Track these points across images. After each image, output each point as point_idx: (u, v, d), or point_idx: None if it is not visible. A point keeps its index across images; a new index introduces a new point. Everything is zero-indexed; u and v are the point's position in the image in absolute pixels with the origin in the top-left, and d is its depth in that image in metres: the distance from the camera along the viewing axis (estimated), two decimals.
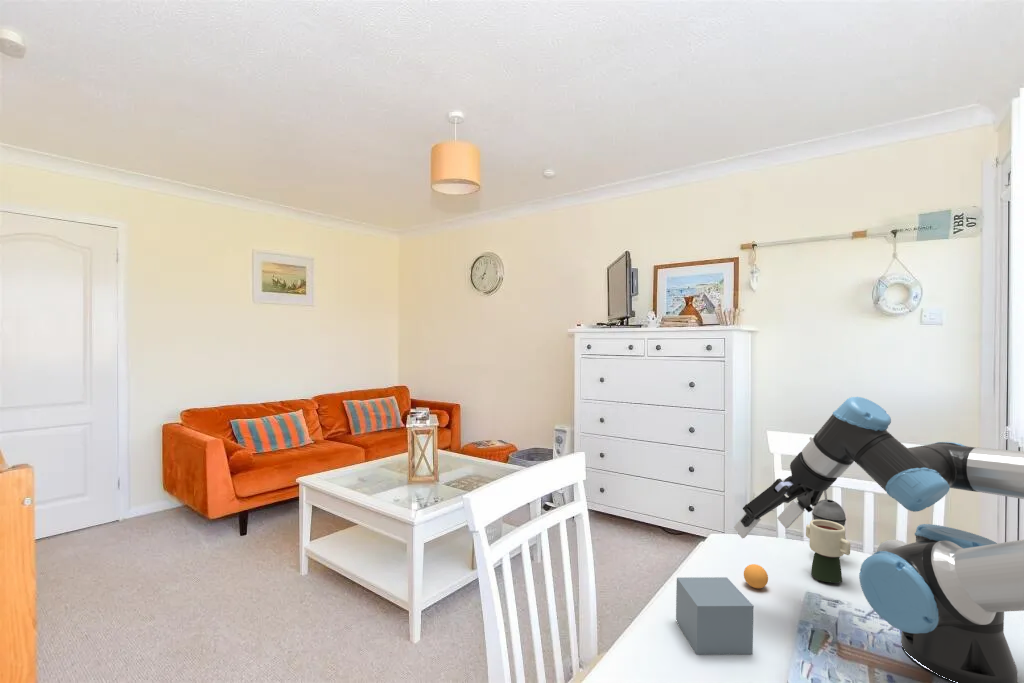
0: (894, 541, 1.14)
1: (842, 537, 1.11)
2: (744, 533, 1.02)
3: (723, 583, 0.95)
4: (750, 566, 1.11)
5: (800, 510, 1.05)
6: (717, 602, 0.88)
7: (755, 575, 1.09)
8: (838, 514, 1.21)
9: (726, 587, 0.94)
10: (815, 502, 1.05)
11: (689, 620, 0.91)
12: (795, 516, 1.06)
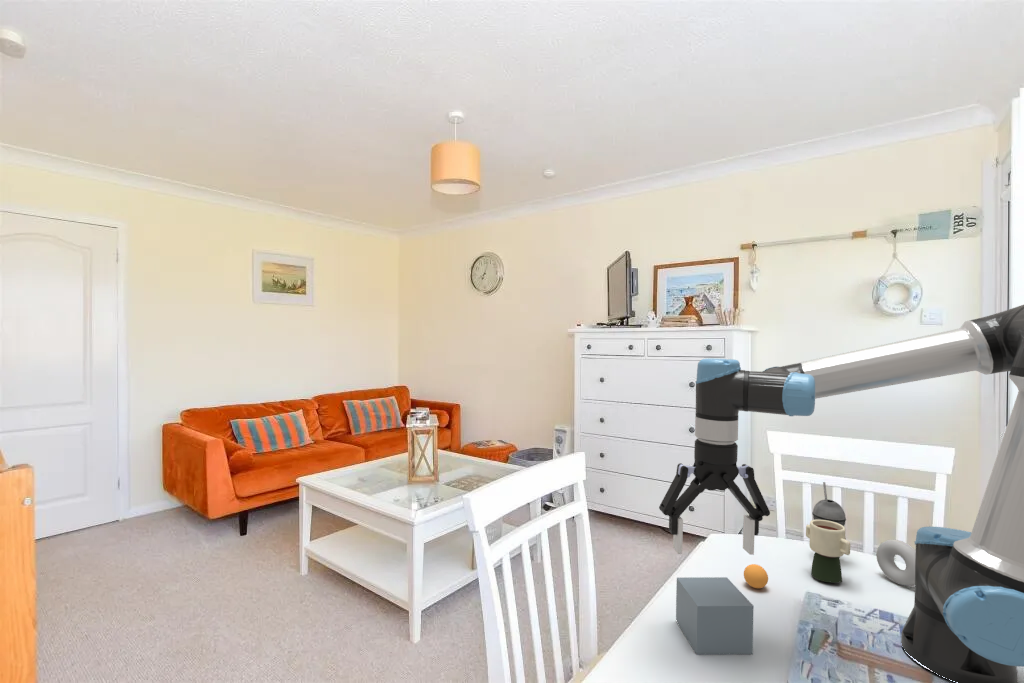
0: (894, 541, 1.14)
1: (842, 537, 1.11)
2: (677, 546, 0.91)
3: (723, 583, 0.95)
4: (750, 566, 1.11)
5: (749, 521, 0.91)
6: (717, 602, 0.88)
7: (755, 575, 1.09)
8: (838, 514, 1.21)
9: (726, 587, 0.94)
10: (763, 508, 0.91)
11: (689, 620, 0.91)
12: (749, 532, 0.91)
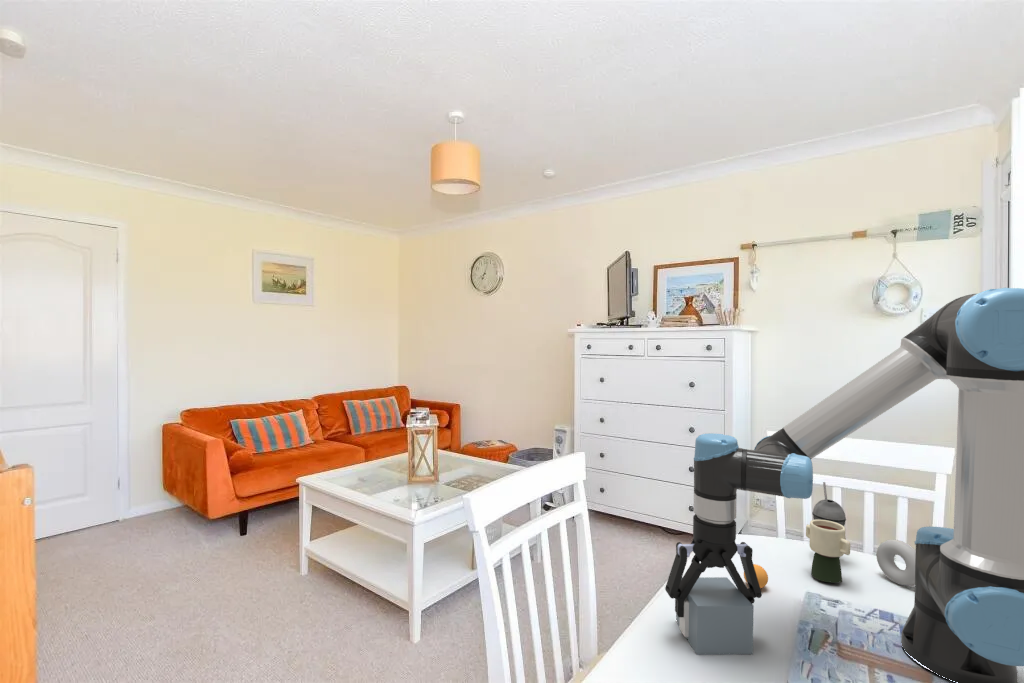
0: (894, 541, 1.14)
1: (842, 537, 1.11)
2: (684, 628, 0.91)
3: (723, 583, 0.95)
4: None
5: None
6: (717, 602, 0.88)
7: None
8: (838, 514, 1.21)
9: (726, 587, 0.94)
10: (756, 589, 0.91)
11: (689, 620, 0.91)
12: None
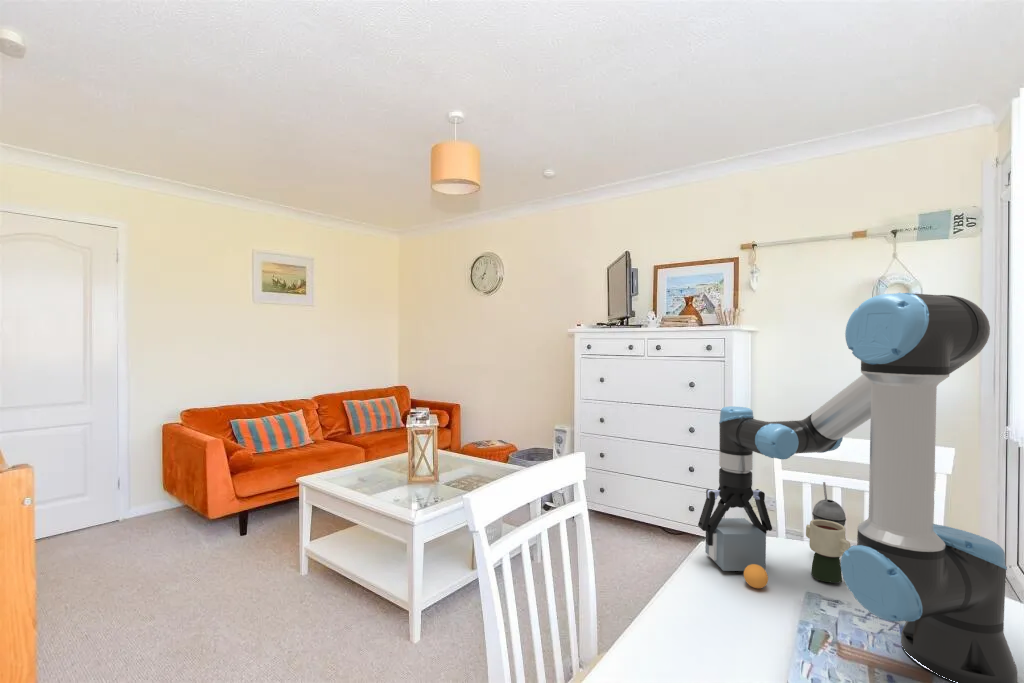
0: None
1: (842, 537, 1.11)
2: (713, 554, 1.20)
3: (742, 521, 1.24)
4: (750, 566, 1.11)
5: None
6: (738, 532, 1.17)
7: (755, 575, 1.09)
8: (838, 514, 1.21)
9: (744, 524, 1.22)
10: (767, 524, 1.20)
11: (717, 547, 1.19)
12: None
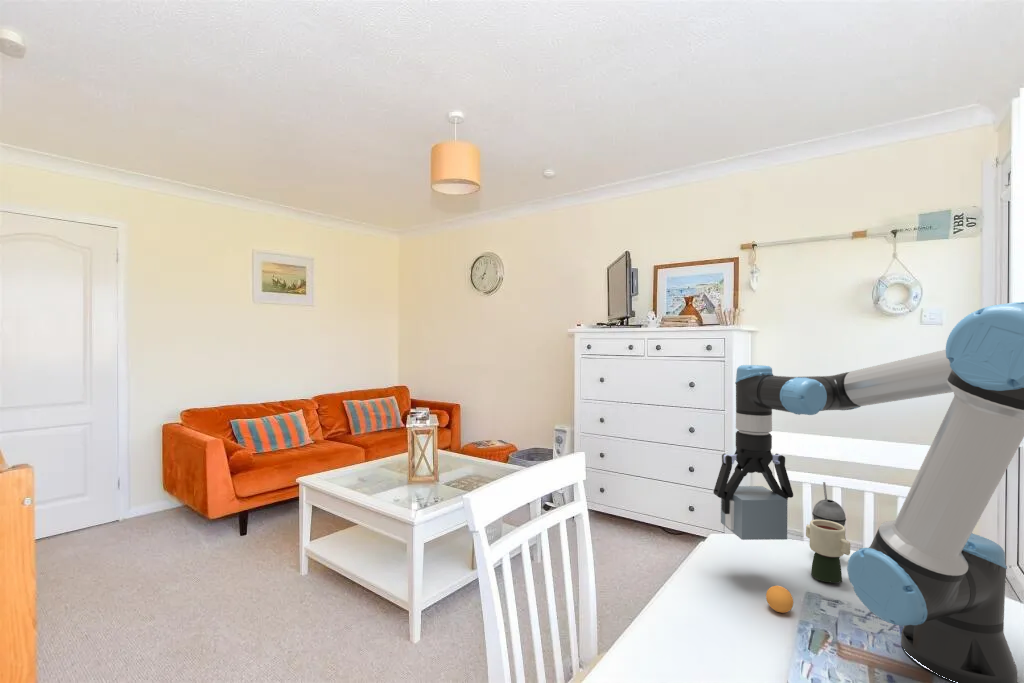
0: None
1: (842, 537, 1.11)
2: (730, 523, 1.11)
3: (760, 489, 1.15)
4: None
5: None
6: (757, 498, 1.09)
7: None
8: (838, 514, 1.21)
9: (763, 491, 1.14)
10: (788, 490, 1.12)
11: (734, 515, 1.11)
12: None
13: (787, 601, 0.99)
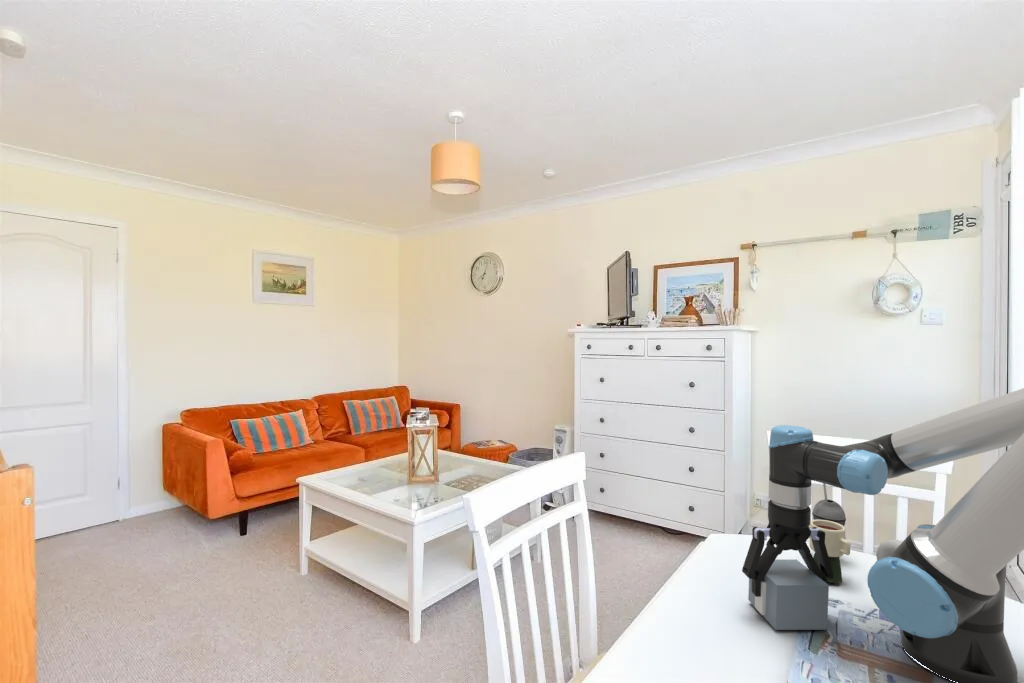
0: (894, 541, 1.14)
1: (842, 537, 1.11)
2: (761, 607, 0.98)
3: (795, 565, 1.02)
4: None
5: None
6: (794, 582, 0.95)
7: None
8: (838, 514, 1.21)
9: (798, 568, 1.00)
10: (828, 571, 0.98)
11: (766, 598, 0.97)
12: None
13: None
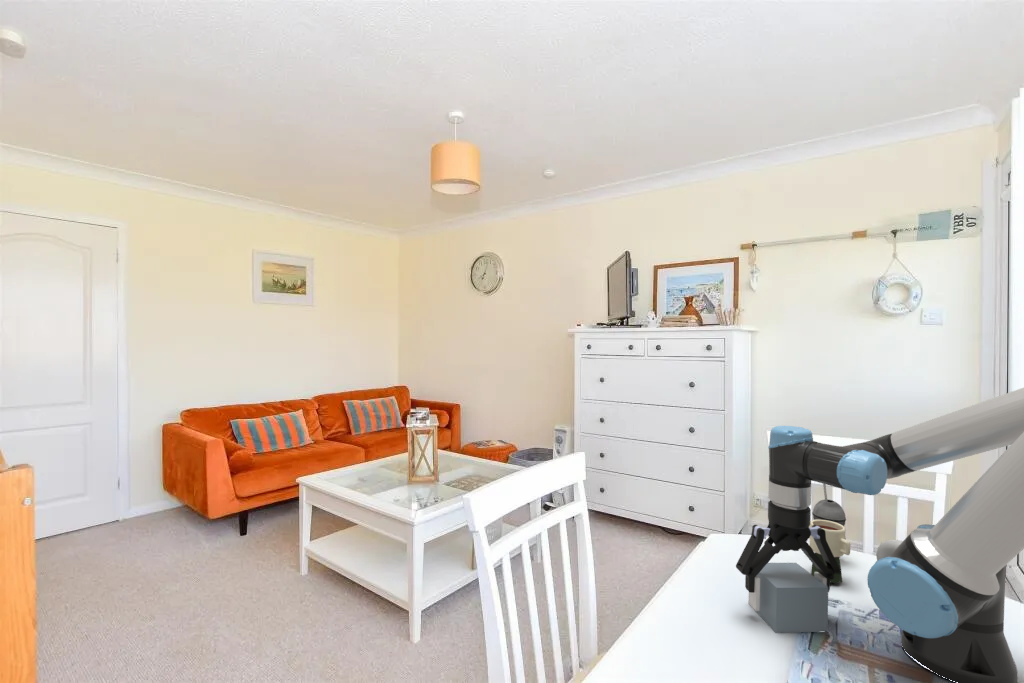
0: (894, 541, 1.14)
1: (842, 537, 1.11)
2: (755, 603, 0.98)
3: (794, 568, 1.02)
4: None
5: (821, 579, 0.98)
6: (794, 584, 0.95)
7: None
8: (838, 514, 1.21)
9: (798, 571, 1.00)
10: (834, 567, 0.98)
11: (766, 601, 0.97)
12: None
13: None
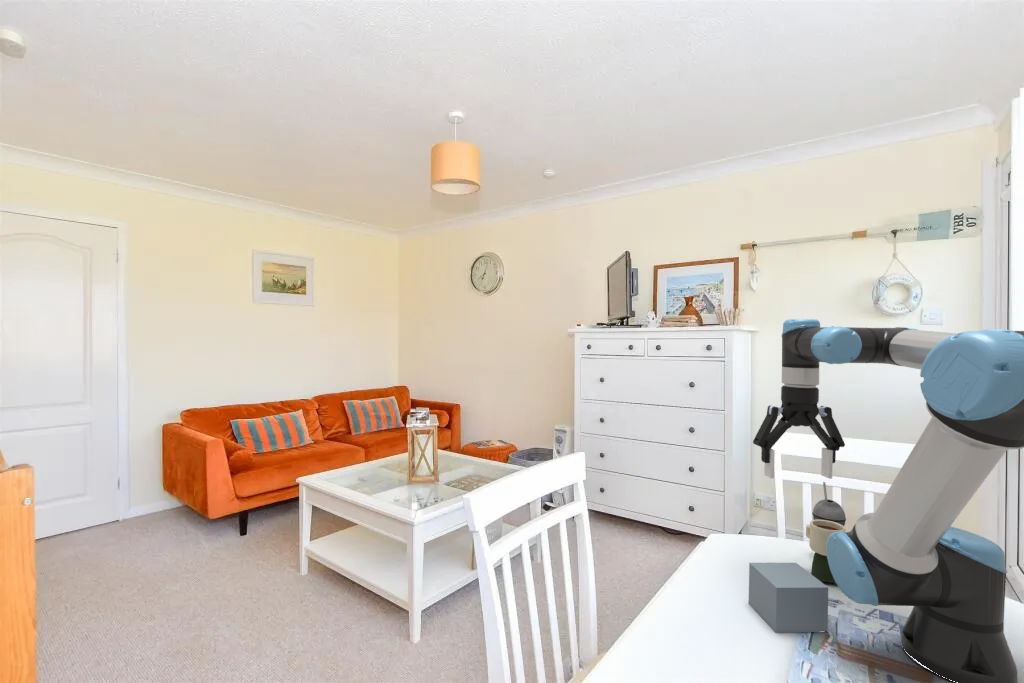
0: None
1: None
2: (770, 472, 1.12)
3: (794, 568, 1.02)
4: None
5: (828, 451, 1.12)
6: (794, 584, 0.95)
7: None
8: (838, 514, 1.21)
9: (798, 571, 1.00)
10: (839, 440, 1.12)
11: (766, 601, 0.97)
12: (828, 460, 1.12)
13: None
